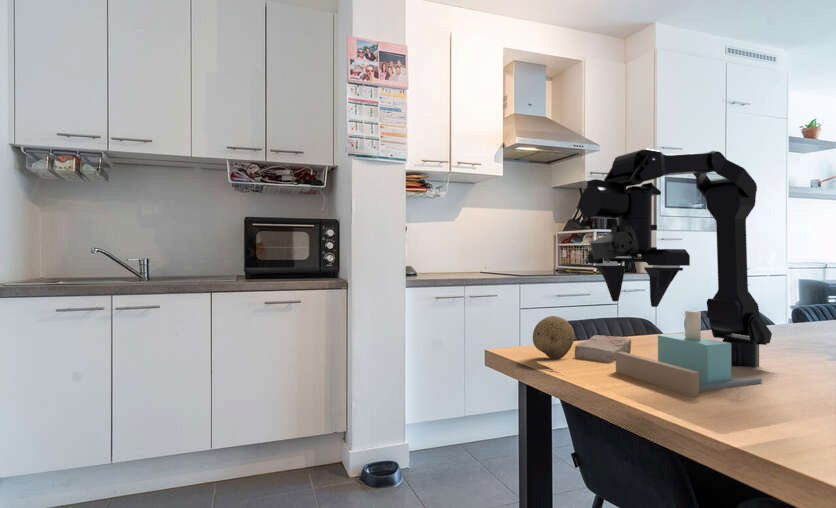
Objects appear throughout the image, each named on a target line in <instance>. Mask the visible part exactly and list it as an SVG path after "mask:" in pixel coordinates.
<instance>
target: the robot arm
mask: <svg viewBox="0 0 836 508" xmlns="http://www.w3.org/2000/svg"><path fill="white" fill-rule="evenodd" d="M712 172H715V173H716V174H717V175H719V176H720V178H719V177H718V178H715V179H710V177H709V176H708V175H707V173H712ZM689 174H690V175H693V176H694V177H695V182H696V183H695V184H696V189H697V190H698V191H699V193H700V194H701V195H702V196H703V197H704V199H705V205H706V209H707V211H708V212H709V213H710V215H711V216H712V217H713V219H714V220H715V226H716V228H715V229H716V257H717V258H716V261H717V291H716V293H715V294H714V296H713V297H712V298H707V301H706V307H707V308H706V309H707V313H706V318H707V319H708V324H709V328H710V329H711V334H712V337H713V338H715V339H716V338H717V339H722V340H721V341H722V342H727V343H731V367H742V368H743V367H744V368H755V367H758V368H759V367H760V346H761V345H763V346H765V345H767V344H770V343H771V339H772V335H773V334H772V331H771V330H770V328H769V327H768V326H767V324H766V323H765V322H764V321H763V319H762V318H761V315H760V309H759V304H758V302H757V301H756V300H755V298H754V297H753V295H752V294H751V292H750V290H749V287H748V286H749V284H748V282H749V281H748V279H749V278H748V256H747V255H748V252H747V251H748V250H747V249H748V248H747V218H748V217H749V215H750V214H751V212H752V211H753V209H754V208H755V206H756V198H757V191H758V186H757V183H756V180H754V179H753V177H752V176H751V175H750V173H749V172H748V171H747V170H746V169H745V168H744V167H742V166H741V165H739V164H736V163H735V162H732V161H731V160H729V159H727V158H726V157H725V156H724V155H723V153H722V152H720V151H718V150H710V151H707V152H691V153H675V154H674V153H673V154H666V153H663V152H662V151H660V150H658V149H657V150H656V149H652V148H651V149H650V148H643V149H639V150H636V151H632V152H629V153H625V154H622V155H618V156H616V157H615V158H614V160H613V162H612V166H611V167H610V169H609V171H608V173H607V174H606V176H605V177H604V179H600V178H599V179H597V178H594V179H591V180H587V183H586V185H587V187H586V188H585V189H584V190H583V192H581V193H582V194H581V195H580V199H579V201H578V207H579V211H580V213H581V215H582V216H583V217H585V218H589V219H590V218H591V219H607V220H608V219H611V220H612V219H615V220H616V219H617V222H616V223H617V224H615V225H612V226H611V229H610V233H609V234H607V235H604V236H601V237H599V238H597V239H595V240H593V241H592V240H591V241H590V242H589V244H590V248H591V250H590V251H589V252H588V254H587V264H594V265H592V268H593V269H596V270H597V271H598V272H599V273H601V275H602V277H603V279H604V282H605V284H606V286H607V289H608V292H609V295H610V299H611V301H612V302H619V299H620V297H621V291H622V286H623V281H624V275H625V270H626V265H621V264H623V263H624V262H625V263H646V264H647V265H648V266H647V267H643V268H644V271H645V272H646V273H647V275H648V277H649V297H650V298H649V300H650V306H651V307H652V308H657V307H659V304H660V303H661V301H662V299H663V298H664V295H665V294H666V292H667V289H668V288H669V286H670V284H671V283H672V282H673V280H674V279H675V277H676V276H677V274H678V273H679V272H680V271H681V272H683V271H684V270H683V269H684V268H683V266H685V267H686V266H688V267H690V265H691V261H690V260H691V257H690V254H689V252H688V251H687V249H683V248H658V247H657V246H654V247H653V246H652V239H653V238H652V235H653V234H652V231H658V225H657V224H653V223H652V220H653V216H652V214H653V211H652V210H653V209H652V208H653V207H652V205H653V204H652V201H653V200H652V199H653V197H655V196H660V195H662V191H661V190H659V188H658V187H656V185H654V184H653V182H648V181H652V180H655V179H659V178H662V177H666V176H677V175H689ZM644 182H648V183H644ZM642 183H643V184H642ZM628 255H630V256H628ZM638 255H640V256H638ZM619 264H620V265H619ZM649 266H651V267H649ZM680 266H682V267H680Z"/></svg>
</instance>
